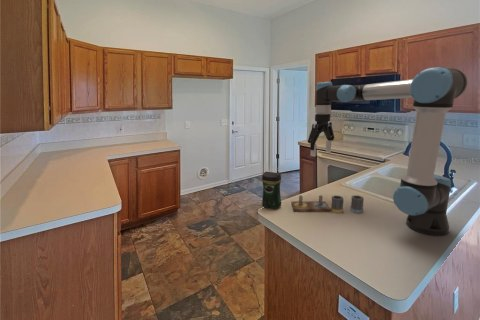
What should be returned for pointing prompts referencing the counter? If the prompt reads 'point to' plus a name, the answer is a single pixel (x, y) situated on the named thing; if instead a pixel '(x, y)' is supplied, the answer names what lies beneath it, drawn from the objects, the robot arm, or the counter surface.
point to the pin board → (310, 205)
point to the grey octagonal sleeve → (357, 204)
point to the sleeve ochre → (337, 204)
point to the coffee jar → (271, 190)
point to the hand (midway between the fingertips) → (320, 154)
